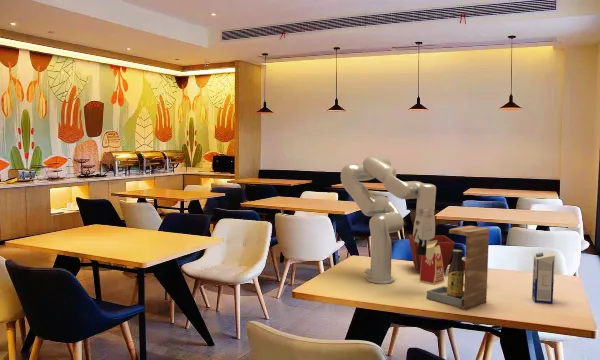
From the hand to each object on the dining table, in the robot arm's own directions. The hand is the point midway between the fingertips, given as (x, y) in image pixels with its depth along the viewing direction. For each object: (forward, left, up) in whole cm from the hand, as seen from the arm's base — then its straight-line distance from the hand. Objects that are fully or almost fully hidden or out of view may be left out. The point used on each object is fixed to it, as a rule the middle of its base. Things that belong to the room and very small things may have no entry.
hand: (421, 254), depth 224 cm
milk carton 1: (-7, +18, -17) cm, 25 cm away
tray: (+16, -1, -16) cm, 23 cm away
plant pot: (-19, +35, -17) cm, 43 cm away
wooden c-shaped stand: (+22, 0, -16) cm, 27 cm away
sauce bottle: (+17, 0, -16) cm, 23 cm away
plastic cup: (+9, +28, -17) cm, 34 cm away
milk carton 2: (+40, +28, -17) cm, 52 cm away
